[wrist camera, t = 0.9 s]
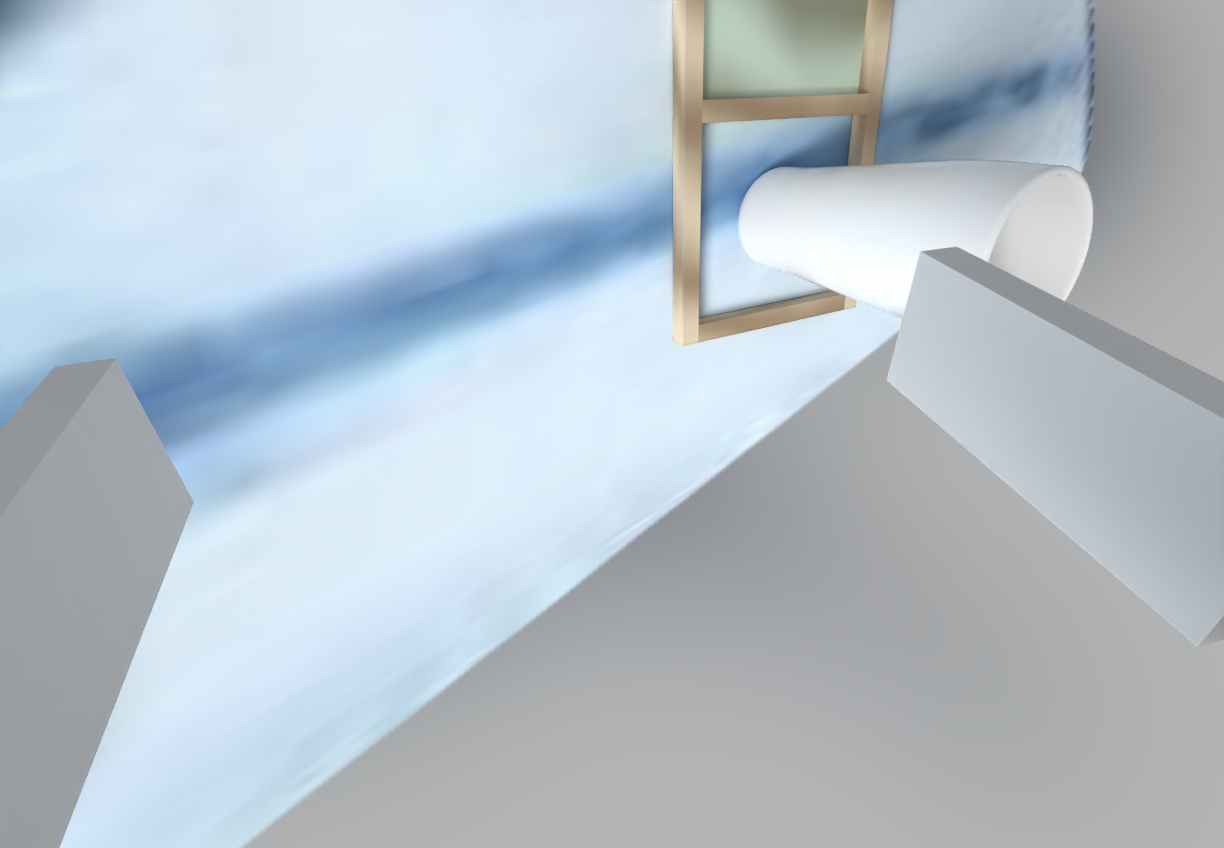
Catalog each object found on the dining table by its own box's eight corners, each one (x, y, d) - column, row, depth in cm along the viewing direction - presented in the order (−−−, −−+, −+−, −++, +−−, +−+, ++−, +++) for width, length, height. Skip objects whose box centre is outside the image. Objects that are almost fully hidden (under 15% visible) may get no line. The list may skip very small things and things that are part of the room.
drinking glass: (756, 128, 34) (1048, 126, 22) (833, 184, 38) (1118, 210, 25) (702, 251, 35) (951, 315, 23) (782, 294, 39) (1031, 368, 27)
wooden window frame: (673, -203, 26) (687, -213, 25) (897, -160, 31) (914, -167, 31) (673, 341, 36) (683, 345, 35) (843, 303, 41) (855, 306, 41)
